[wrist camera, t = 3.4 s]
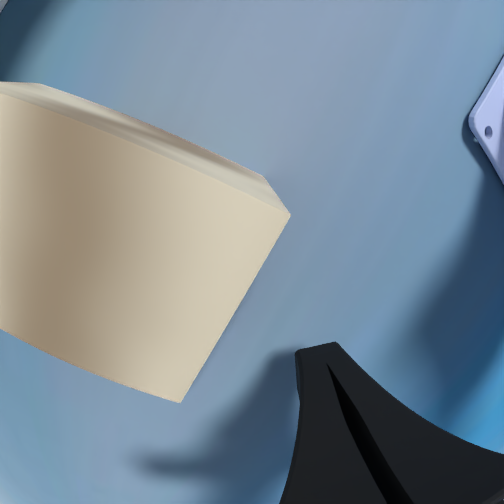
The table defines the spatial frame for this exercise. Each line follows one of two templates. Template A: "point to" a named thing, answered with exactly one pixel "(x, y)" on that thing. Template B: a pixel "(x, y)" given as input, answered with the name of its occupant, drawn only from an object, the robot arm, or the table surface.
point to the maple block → (122, 239)
